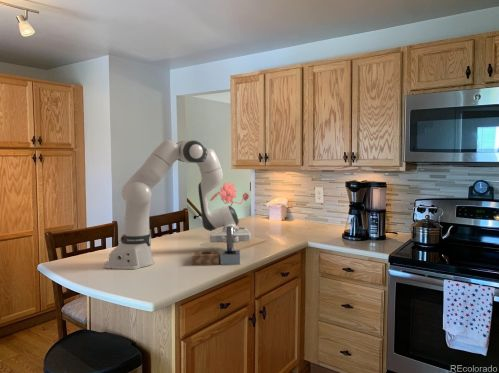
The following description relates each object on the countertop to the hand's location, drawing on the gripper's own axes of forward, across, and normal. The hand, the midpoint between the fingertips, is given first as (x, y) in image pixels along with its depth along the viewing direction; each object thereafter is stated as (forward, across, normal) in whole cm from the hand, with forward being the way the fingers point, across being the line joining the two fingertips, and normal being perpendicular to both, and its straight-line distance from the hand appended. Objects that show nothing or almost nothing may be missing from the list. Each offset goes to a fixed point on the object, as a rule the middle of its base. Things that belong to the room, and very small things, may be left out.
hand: (230, 240), depth 181 cm
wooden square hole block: (-1, -12, +10) cm, 16 cm away
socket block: (-1, 0, +10) cm, 11 cm away
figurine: (-51, -2, +11) cm, 52 cm away
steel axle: (-1, 0, +10) cm, 10 cm away
